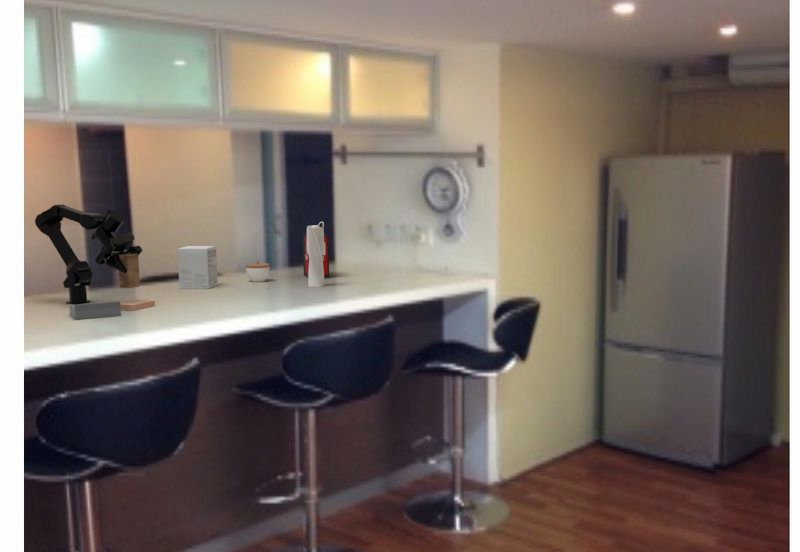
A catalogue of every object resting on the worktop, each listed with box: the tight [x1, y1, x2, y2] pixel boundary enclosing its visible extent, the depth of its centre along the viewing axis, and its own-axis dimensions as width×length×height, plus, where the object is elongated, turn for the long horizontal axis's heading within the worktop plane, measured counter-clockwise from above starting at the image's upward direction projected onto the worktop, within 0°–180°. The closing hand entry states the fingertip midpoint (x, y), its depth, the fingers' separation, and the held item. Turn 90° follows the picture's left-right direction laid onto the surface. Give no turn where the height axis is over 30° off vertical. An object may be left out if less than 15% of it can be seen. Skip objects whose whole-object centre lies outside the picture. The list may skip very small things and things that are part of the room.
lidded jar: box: [245, 260, 271, 283], centre depth 378 cm, size 11×11×9 cm
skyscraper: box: [306, 221, 325, 288], centre depth 359 cm, size 8×8×28 cm
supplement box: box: [177, 245, 218, 290], centre depth 361 cm, size 13×13×18 cm
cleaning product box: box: [302, 233, 330, 280], centre depth 392 cm, size 16×9×20 cm, turn 17°
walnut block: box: [118, 254, 141, 289], centre depth 306 cm, size 5×5×12 cm
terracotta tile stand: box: [119, 298, 156, 312], centre depth 308 cm, size 12×12×2 cm
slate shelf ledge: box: [69, 300, 122, 321], centre depth 291 cm, size 12×15×5 cm
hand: (131, 271), depth 306 cm, fingers closed on walnut block, 5 cm apart
